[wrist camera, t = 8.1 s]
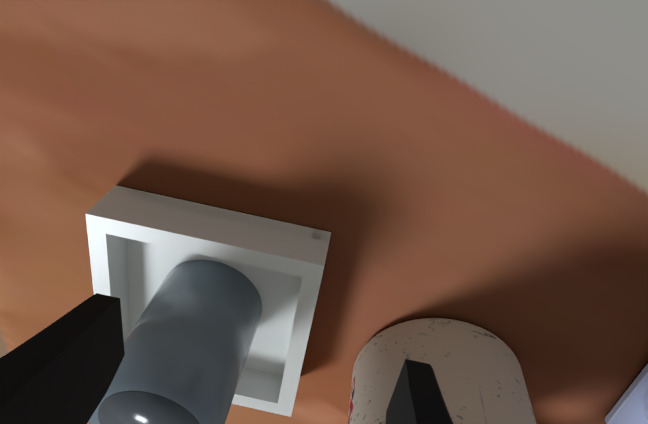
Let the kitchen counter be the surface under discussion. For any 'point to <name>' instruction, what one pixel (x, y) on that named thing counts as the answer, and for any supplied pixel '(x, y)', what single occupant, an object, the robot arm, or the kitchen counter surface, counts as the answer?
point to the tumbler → (185, 349)
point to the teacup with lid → (442, 372)
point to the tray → (222, 246)
